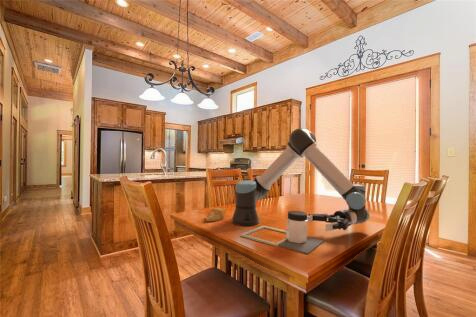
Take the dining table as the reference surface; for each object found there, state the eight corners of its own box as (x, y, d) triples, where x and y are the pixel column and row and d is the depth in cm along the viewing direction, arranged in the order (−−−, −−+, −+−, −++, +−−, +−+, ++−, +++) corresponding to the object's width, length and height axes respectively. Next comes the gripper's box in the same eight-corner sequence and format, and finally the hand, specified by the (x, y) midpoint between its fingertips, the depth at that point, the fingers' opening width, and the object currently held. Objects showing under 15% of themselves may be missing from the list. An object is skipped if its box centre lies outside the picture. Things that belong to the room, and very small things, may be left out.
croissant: (211, 229, 128) (217, 217, 126) (197, 219, 131) (203, 207, 130) (227, 219, 147) (232, 209, 146) (215, 211, 151) (220, 200, 149)
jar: (295, 244, 95) (297, 216, 95) (282, 238, 102) (283, 211, 101) (310, 241, 100) (311, 213, 99) (296, 235, 106) (297, 209, 106)
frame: (240, 236, 106) (240, 234, 106) (263, 227, 122) (263, 225, 122) (277, 246, 94) (277, 244, 94) (297, 234, 109) (297, 233, 109)
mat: (279, 246, 94) (279, 245, 94) (298, 235, 108) (298, 234, 108) (308, 254, 87) (308, 253, 87) (324, 241, 101) (324, 240, 101)
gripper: (370, 233, 100) (338, 241, 89) (323, 219, 121) (293, 225, 111) (370, 215, 100) (338, 221, 89) (323, 205, 121) (293, 209, 111)
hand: (313, 223), depth 100 cm, fingers open, 13 cm apart
